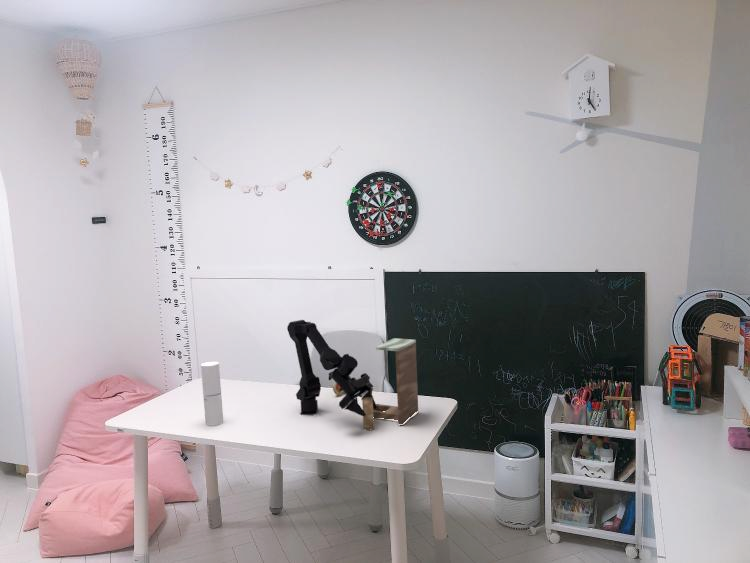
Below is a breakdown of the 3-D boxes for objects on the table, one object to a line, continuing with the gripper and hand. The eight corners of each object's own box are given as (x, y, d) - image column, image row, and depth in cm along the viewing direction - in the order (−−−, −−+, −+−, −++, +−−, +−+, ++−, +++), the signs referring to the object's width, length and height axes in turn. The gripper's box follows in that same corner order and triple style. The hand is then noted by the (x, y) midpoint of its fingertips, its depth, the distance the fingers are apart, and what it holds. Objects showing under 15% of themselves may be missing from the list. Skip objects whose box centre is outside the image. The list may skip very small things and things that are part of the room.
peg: (363, 430, 233) (362, 400, 232) (363, 426, 237) (362, 397, 236) (373, 430, 233) (372, 400, 232) (374, 426, 237) (372, 396, 235)
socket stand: (362, 420, 244) (359, 345, 240) (380, 408, 258) (377, 337, 254) (401, 426, 236) (398, 348, 232) (418, 413, 250) (415, 339, 246)
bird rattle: (344, 401, 276) (352, 388, 283) (338, 382, 271) (346, 369, 277) (332, 399, 279) (341, 387, 285) (326, 381, 273) (335, 368, 280)
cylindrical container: (218, 426, 245) (213, 366, 242) (202, 425, 246) (197, 366, 243) (226, 420, 252) (221, 361, 249) (210, 419, 253) (205, 361, 250)
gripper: (344, 375, 226) (371, 406, 222) (367, 362, 242) (393, 392, 238) (327, 393, 230) (354, 424, 227) (351, 379, 247) (377, 409, 243)
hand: (370, 411), depth 234 cm, fingers open, 9 cm apart
